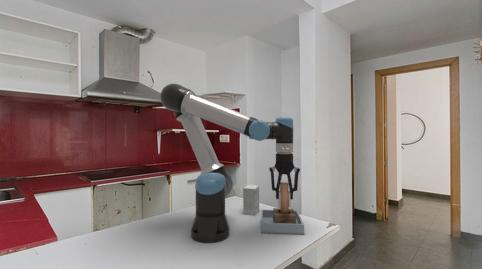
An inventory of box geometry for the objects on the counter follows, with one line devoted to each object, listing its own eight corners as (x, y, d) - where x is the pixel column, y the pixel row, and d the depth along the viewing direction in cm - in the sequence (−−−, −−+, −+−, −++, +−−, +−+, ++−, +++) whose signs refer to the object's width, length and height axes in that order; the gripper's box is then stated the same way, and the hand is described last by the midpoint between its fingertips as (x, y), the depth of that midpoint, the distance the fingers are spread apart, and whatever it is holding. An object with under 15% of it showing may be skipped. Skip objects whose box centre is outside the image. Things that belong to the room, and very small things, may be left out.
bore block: (274, 227, 100) (274, 214, 100) (273, 219, 109) (273, 208, 109) (295, 228, 99) (296, 215, 99) (293, 220, 108) (293, 208, 108)
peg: (280, 216, 102) (280, 184, 102) (279, 213, 106) (280, 182, 106) (288, 216, 102) (288, 184, 102) (287, 214, 106) (288, 182, 105)
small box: (247, 209, 126) (248, 184, 126) (259, 210, 124) (259, 185, 124) (242, 213, 119) (242, 187, 119) (255, 215, 117) (255, 188, 116)
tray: (260, 233, 96) (261, 223, 96) (261, 217, 113) (261, 209, 113) (303, 234, 95) (304, 224, 95) (297, 219, 112) (297, 210, 111)
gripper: (265, 153, 101) (265, 208, 101) (305, 153, 99) (305, 210, 100) (265, 152, 108) (265, 203, 109) (302, 152, 107) (302, 204, 107)
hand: (284, 206), depth 104 cm, fingers closed on peg, 3 cm apart
